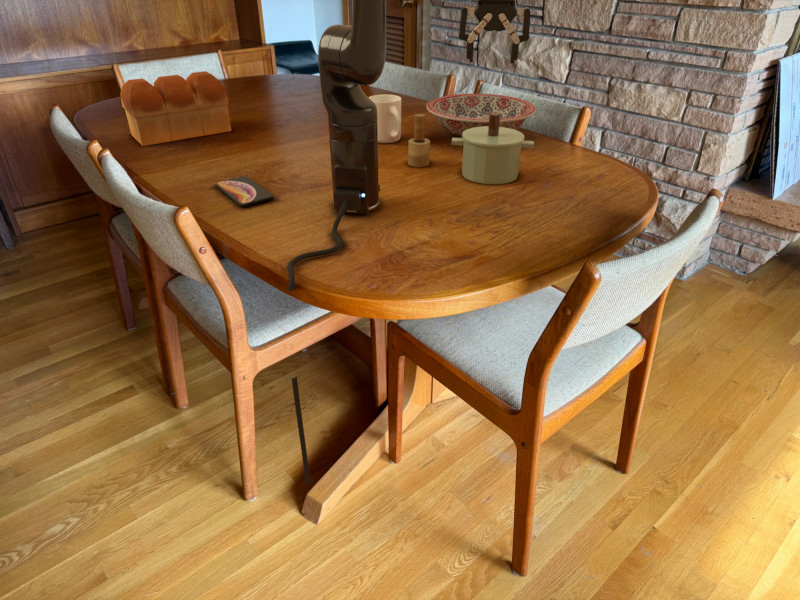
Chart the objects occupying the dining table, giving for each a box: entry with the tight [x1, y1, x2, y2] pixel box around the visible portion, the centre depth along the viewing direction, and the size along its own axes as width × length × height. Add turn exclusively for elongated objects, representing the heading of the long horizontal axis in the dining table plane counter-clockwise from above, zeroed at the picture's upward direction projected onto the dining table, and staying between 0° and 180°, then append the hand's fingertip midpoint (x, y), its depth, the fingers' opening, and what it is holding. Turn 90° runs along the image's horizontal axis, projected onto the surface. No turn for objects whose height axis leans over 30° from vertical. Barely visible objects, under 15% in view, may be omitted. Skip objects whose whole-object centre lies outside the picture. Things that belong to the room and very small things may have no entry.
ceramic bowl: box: [426, 93, 537, 138], centre depth 155 cm, size 29×29×8 cm
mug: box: [368, 94, 402, 144], centre depth 150 cm, size 9×12×11 cm
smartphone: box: [215, 175, 274, 208], centre depth 121 cm, size 8×1×15 cm
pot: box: [451, 137, 535, 185], centre depth 129 cm, size 13×18×8 cm
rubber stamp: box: [407, 113, 431, 168], centre depth 134 cm, size 5×5×12 cm
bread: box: [119, 71, 232, 147], centre depth 154 cm, size 25×12×15 cm, turn 125°
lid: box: [461, 113, 525, 147], centre depth 126 cm, size 14×14×6 cm
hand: (491, 62), depth 120 cm, fingers open, 8 cm apart
